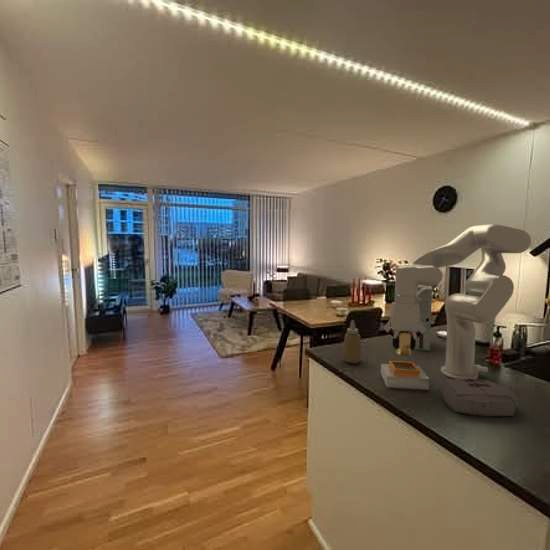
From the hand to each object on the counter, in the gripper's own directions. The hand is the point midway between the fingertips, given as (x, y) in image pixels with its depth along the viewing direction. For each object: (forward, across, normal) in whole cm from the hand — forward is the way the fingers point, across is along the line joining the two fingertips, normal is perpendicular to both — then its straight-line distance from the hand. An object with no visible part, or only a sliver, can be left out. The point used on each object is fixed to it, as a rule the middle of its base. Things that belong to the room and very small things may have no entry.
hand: (403, 348), depth 113 cm
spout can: (+2, 0, 0) cm, 2 cm away
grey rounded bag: (+13, -19, +15) cm, 28 cm away
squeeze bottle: (+13, +17, -18) cm, 28 cm away
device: (+13, -18, -46) cm, 51 cm away
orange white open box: (+13, 0, 0) cm, 13 cm away
